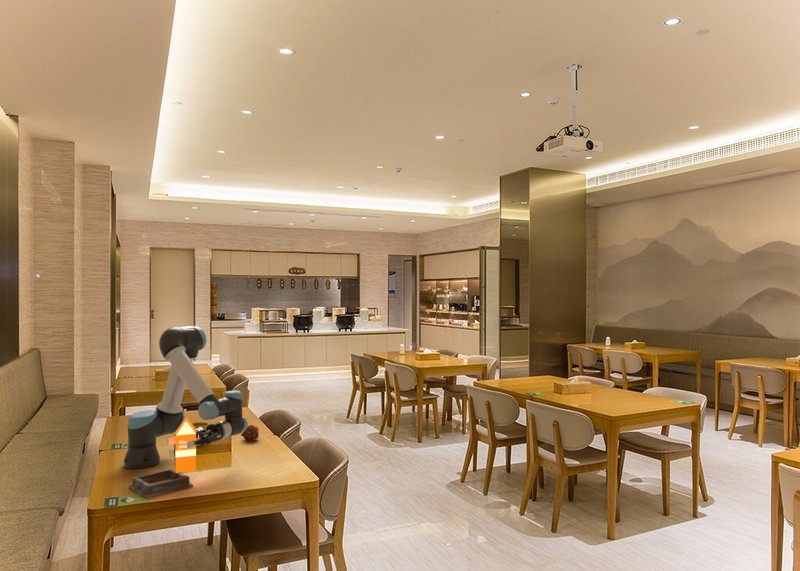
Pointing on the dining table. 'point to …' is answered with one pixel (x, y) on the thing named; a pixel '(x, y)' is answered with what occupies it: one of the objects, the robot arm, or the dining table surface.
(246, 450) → the dining table surface
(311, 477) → the dining table surface
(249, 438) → the brown bumpy lump
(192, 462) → the orange juice
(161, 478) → the tray
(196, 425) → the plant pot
